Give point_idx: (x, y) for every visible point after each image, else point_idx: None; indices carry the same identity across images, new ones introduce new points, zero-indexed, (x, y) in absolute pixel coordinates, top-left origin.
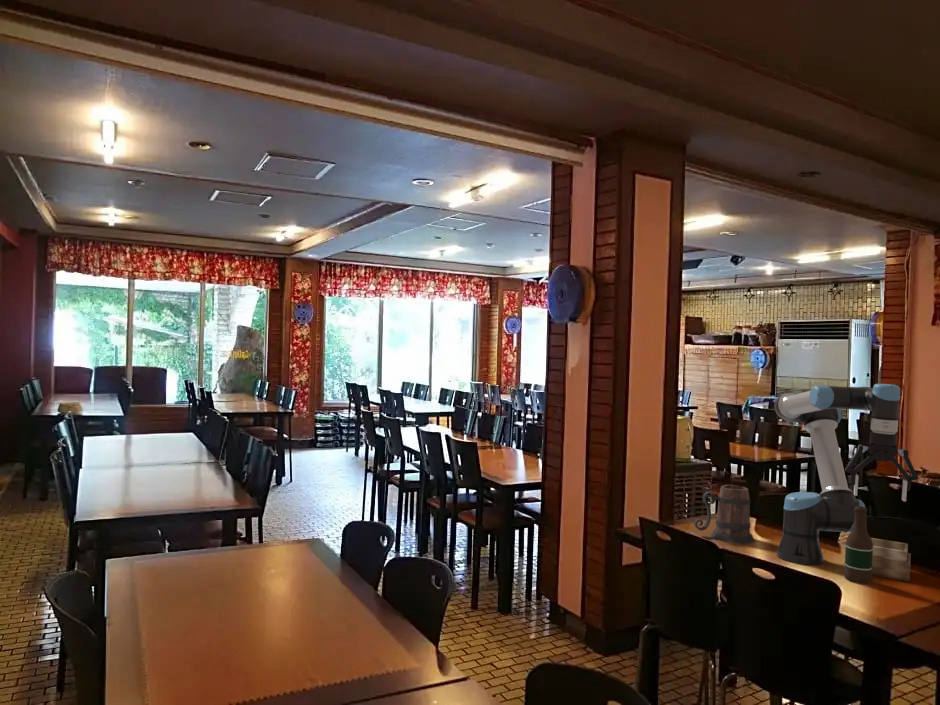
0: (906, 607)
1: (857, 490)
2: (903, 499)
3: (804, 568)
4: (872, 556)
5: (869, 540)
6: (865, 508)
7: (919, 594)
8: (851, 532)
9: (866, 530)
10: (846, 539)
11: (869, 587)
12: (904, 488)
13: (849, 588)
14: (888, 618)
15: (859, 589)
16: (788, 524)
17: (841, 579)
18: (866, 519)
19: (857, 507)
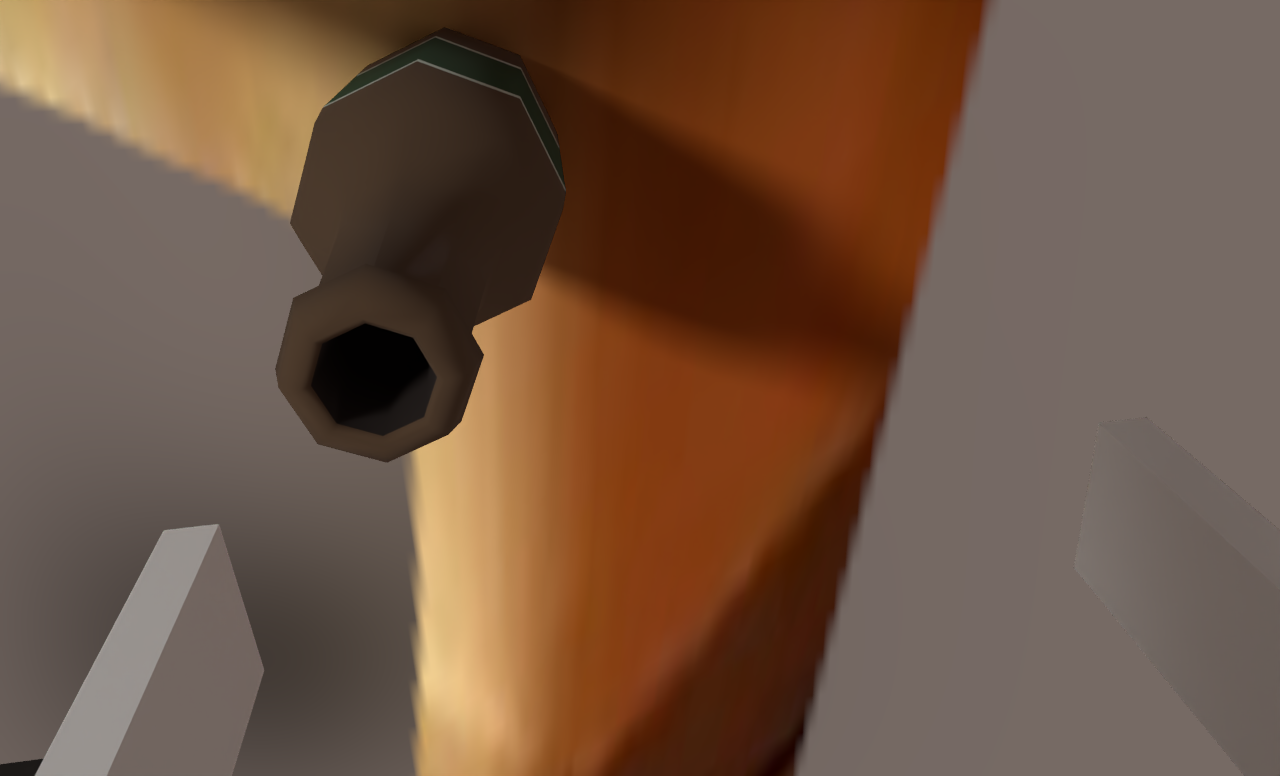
0: (728, 550)
1: (234, 758)
2: (1094, 592)
3: (7, 20)
4: (562, 172)
5: (529, 278)
6: (446, 420)
7: (858, 225)
8: (324, 258)
9: (490, 279)
10: (290, 223)
11: None
12: (1246, 763)
13: None
14: (617, 763)
15: None
16: None
17: None
18: (478, 309)
19: (319, 433)
